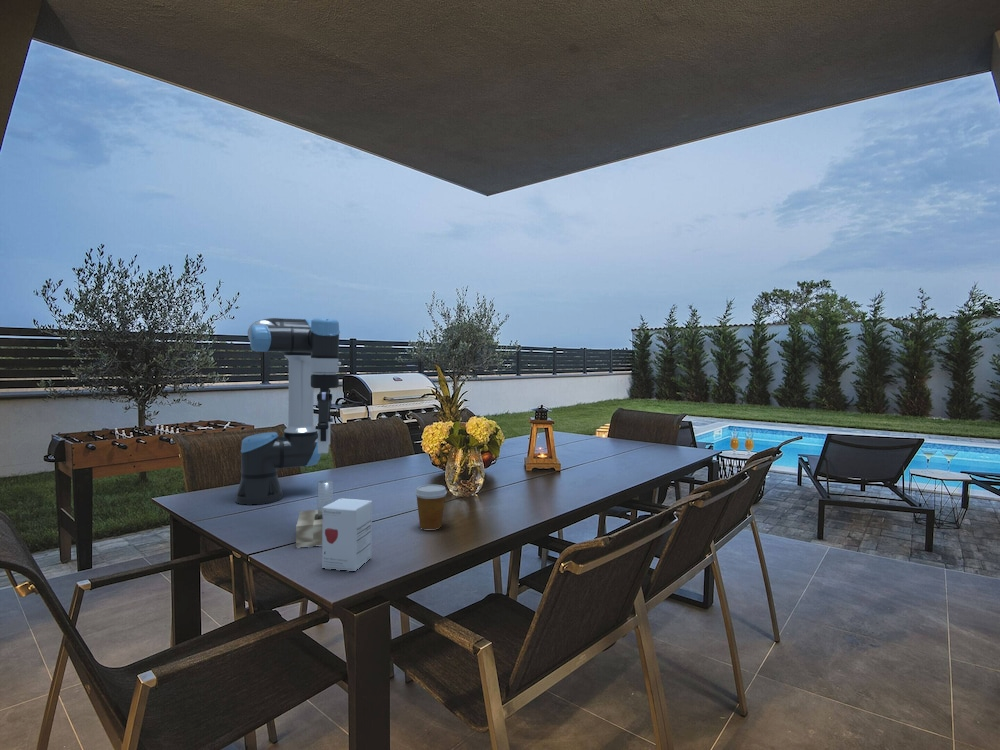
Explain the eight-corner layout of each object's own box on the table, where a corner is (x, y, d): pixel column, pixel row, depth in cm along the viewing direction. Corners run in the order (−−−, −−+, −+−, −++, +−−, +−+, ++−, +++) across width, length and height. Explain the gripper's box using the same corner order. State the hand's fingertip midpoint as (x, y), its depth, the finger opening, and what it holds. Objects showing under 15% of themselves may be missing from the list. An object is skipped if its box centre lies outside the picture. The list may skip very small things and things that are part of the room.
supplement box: (320, 569, 121) (320, 507, 121) (339, 555, 130) (340, 497, 129) (355, 573, 119) (355, 509, 119) (372, 558, 128) (373, 499, 128)
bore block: (295, 548, 134) (296, 526, 134) (300, 531, 148) (300, 511, 147) (351, 543, 138) (351, 521, 138) (350, 527, 152) (350, 507, 151)
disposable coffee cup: (432, 535, 146) (433, 493, 146) (408, 529, 151) (408, 488, 151) (453, 526, 154) (453, 487, 154) (428, 520, 159) (429, 482, 159)
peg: (317, 534, 140) (317, 484, 140) (318, 529, 144) (318, 480, 144) (332, 533, 142) (332, 483, 141) (332, 528, 145) (333, 480, 145)
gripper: (338, 375, 132) (337, 456, 133) (339, 372, 156) (339, 441, 157) (307, 375, 130) (306, 457, 131) (313, 372, 154) (313, 441, 155)
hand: (324, 448), depth 144 cm, fingers open, 13 cm apart
